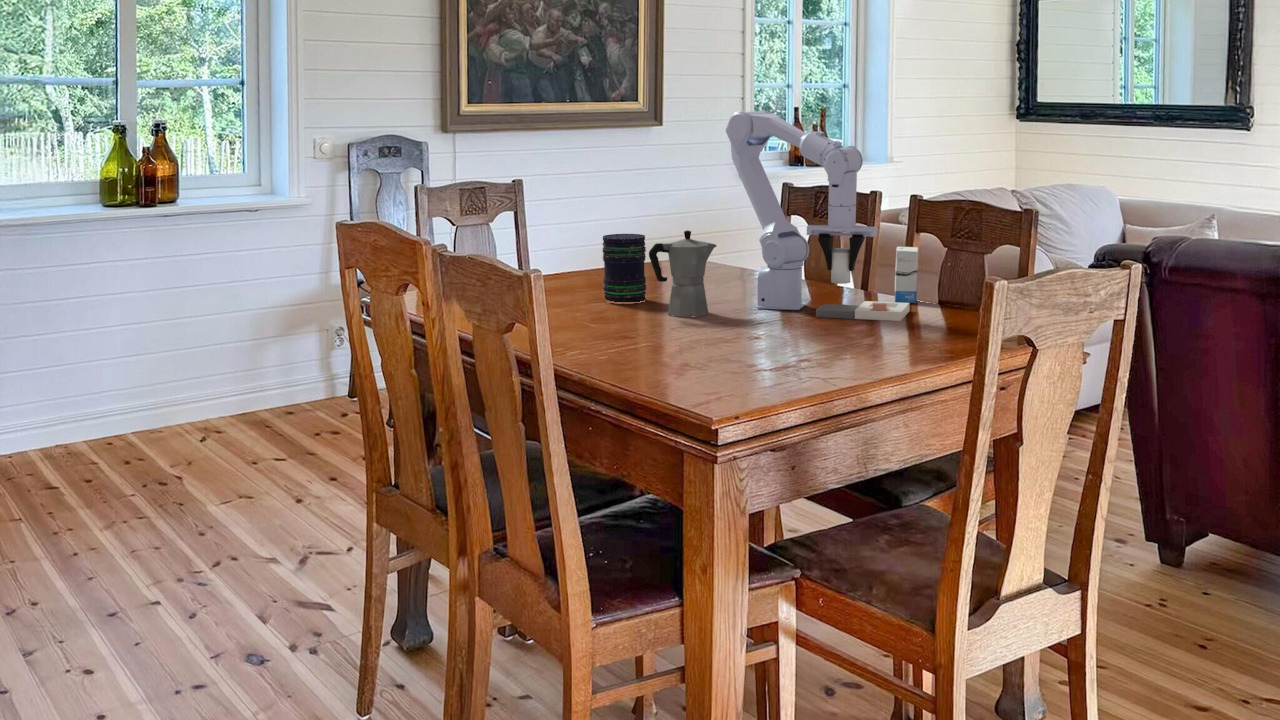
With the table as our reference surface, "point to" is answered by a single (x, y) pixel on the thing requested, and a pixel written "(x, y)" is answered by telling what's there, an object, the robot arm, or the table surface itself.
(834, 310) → the pad
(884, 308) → the peach rounded piece
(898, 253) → the ink box
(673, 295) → the coffeepot
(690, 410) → the table surface
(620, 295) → the storage jar
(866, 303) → the white plate with holes
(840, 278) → the cylinder
